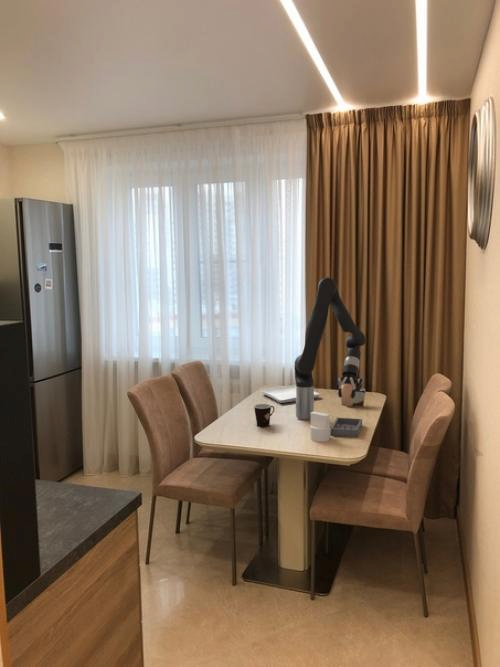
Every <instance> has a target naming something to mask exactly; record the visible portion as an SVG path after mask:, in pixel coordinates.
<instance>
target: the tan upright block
mask: <svg viewBox="0 0 500 667" xmlns="http://www.w3.org/2000/svg"><path fill="white" fill-rule="evenodd" d="M340 385H341V398H340V401H341V402H340V404H341V406H343V407H347V406H352V405H353V398H352V397H351V395H352V390H353V384H350V383H344V384H341V383H340Z"/></svg>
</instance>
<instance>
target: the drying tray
mask: <svg viewBox="0 0 500 667" xmlns="http://www.w3.org/2000/svg"><path fill="white" fill-rule="evenodd" d="M362 427H363V418H356V417H355V418H352V417H339V416H337V417H336V419H335V420H334V422H333V424H332V425H331V427H330V436H334V437H345V438H346V437H347V438H358V437H359V434H360V432H361V430H362Z"/></svg>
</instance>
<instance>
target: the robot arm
mask: <svg viewBox="0 0 500 667" xmlns="http://www.w3.org/2000/svg"><path fill="white" fill-rule="evenodd" d="M317 286H318V287H317V294H316V297H315V298H316V299H315V301H314V305H313V308H312V310H311V312H310V315H309V317H308V321H307V325H306V327H305V335H304V347H303V349H302V353H301V354H300V355H298V356H296V358H295V360H294V379H295V385H296V401H295V417H296V419H297V420H304V421H305V420H306V421H307V420H311V414H310V413H311V412H315V398H314V391H315V387H314V386H315V384H314V383H315V382H314V378H313V371H314V370H315V367H316V362H317V361H316V360H317V356H318V351H319V347H320V345H321V342H322V339H323V335H324V332H325V330H326V329H325V328H326V326H327V320H328V316H329V308H330V307H331V309H332V312H333V314H334V316H335V318H336V320H337V322H338V325H339V327H340V328H341V330H342V331H343V332H344V333H350V334H351V335H350V336H348V337H347V338H346V339H345V342H344V343H345V350H346V354H345V359H344V362H343V369H342V373H341V377H337V376H335V377H334V383H335V390H337V391H338V393H337V395H338V397H339V398H340V399H341V384H344V383H350V384H353V390H352V395H351V397H352V398H354V397H355V393H356V391H360V389H361V388H362V386H363V384H364V380H363V378H358V375H359V370H360V361H361V353H362V352H361V350H360V349H359V348H360V347H363V346H364V345H365V344H366V342H367V338H366V336H365V334H364V332H363V331H362V330H361V329H360V328H359V327H358V326H357V325H356V323H355V322H354V320H353V318H352V316H351V314H350V313H349V310H348V309H347V307H346V305H345V304H344V302H343V300H342V298H341V296H340V292H339V291H338V286H337V282H336V281H335V280H334V279H333V278H332V277H324V278H322V279H321V280H320V281H319V282H318V285H317ZM339 383H340V385H339ZM356 383H358V384H357V386H355V384H356ZM355 387H356V388H355Z"/></svg>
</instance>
